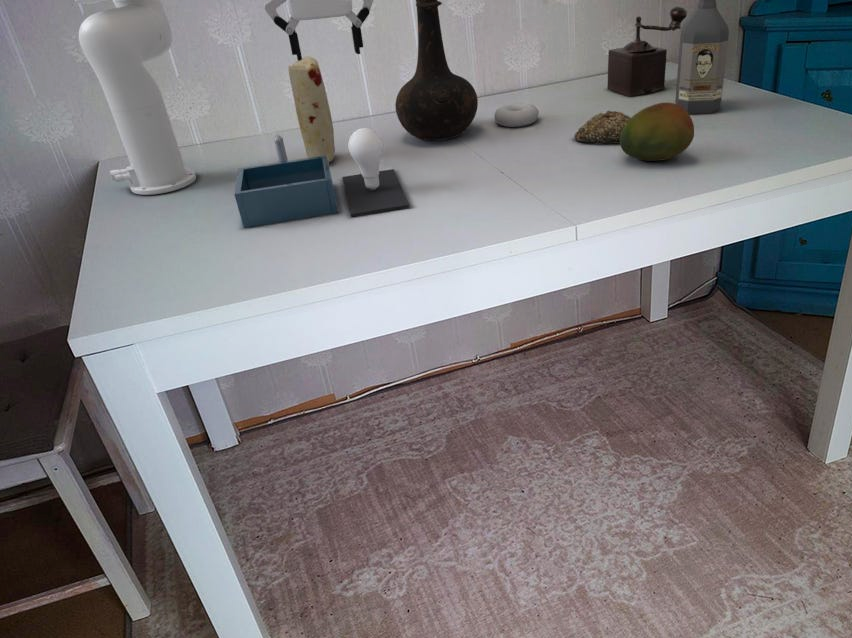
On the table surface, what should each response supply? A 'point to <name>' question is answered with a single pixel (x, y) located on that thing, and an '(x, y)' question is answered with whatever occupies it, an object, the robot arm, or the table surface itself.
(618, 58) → the manual coffee grinder
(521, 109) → the donut
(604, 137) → the bread roll
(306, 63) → the food model
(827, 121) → the table surface
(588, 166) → the table surface
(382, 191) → the mat
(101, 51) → the robot arm
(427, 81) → the dark brown vase
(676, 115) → the fruit
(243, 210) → the sink
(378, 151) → the lightbulb
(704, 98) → the liquor
